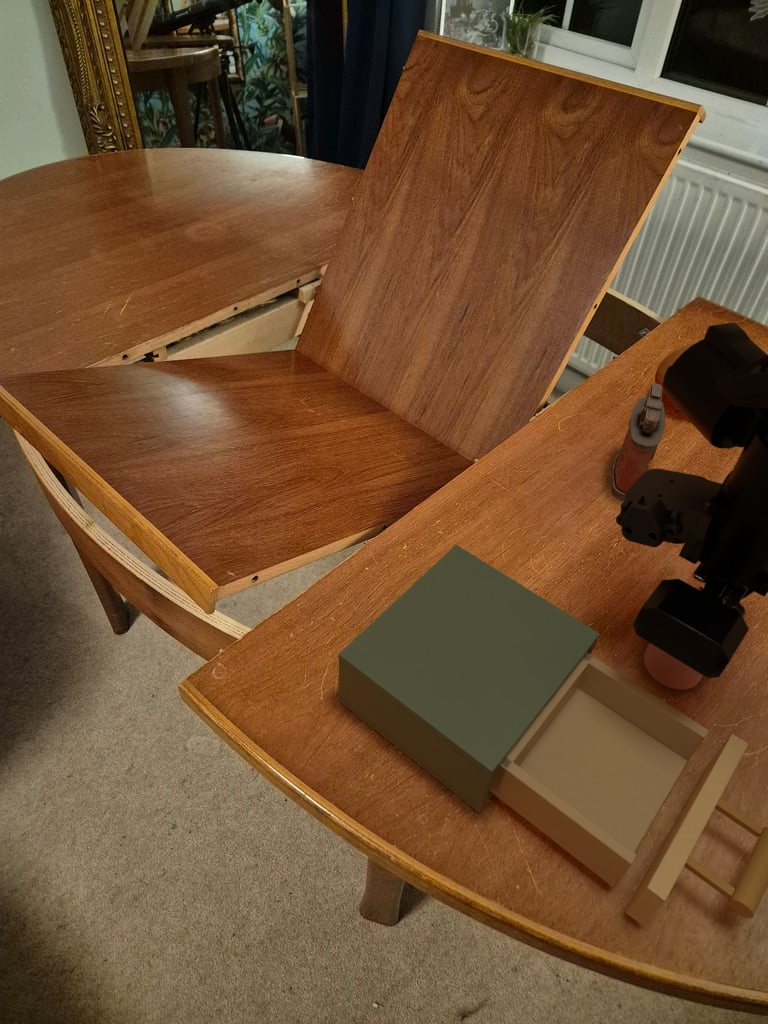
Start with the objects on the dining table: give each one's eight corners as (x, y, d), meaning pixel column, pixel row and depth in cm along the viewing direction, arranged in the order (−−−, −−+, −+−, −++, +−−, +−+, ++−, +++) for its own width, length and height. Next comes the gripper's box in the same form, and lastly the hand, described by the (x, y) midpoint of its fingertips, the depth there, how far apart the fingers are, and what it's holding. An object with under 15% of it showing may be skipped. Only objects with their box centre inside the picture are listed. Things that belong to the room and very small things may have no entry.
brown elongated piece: (639, 504, 76) (671, 428, 69) (606, 496, 77) (634, 420, 70) (646, 456, 82) (676, 381, 74) (615, 449, 82) (641, 373, 75)
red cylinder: (711, 662, 63) (743, 613, 58) (687, 700, 60) (718, 651, 55) (658, 631, 65) (685, 581, 60) (633, 666, 62) (659, 616, 57)
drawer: (787, 816, 53) (818, 787, 49) (712, 981, 45) (743, 960, 42) (575, 677, 60) (589, 643, 57) (481, 799, 53) (491, 768, 49)
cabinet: (580, 680, 61) (600, 633, 56) (478, 813, 53) (492, 771, 48) (447, 593, 67) (456, 544, 62) (338, 700, 59) (338, 653, 54)
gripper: (712, 382, 57) (650, 522, 68) (593, 509, 47) (544, 650, 58) (862, 446, 52) (770, 586, 63) (768, 604, 42) (678, 738, 53)
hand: (691, 633), depth 59 cm, fingers closed on red cylinder, 5 cm apart
